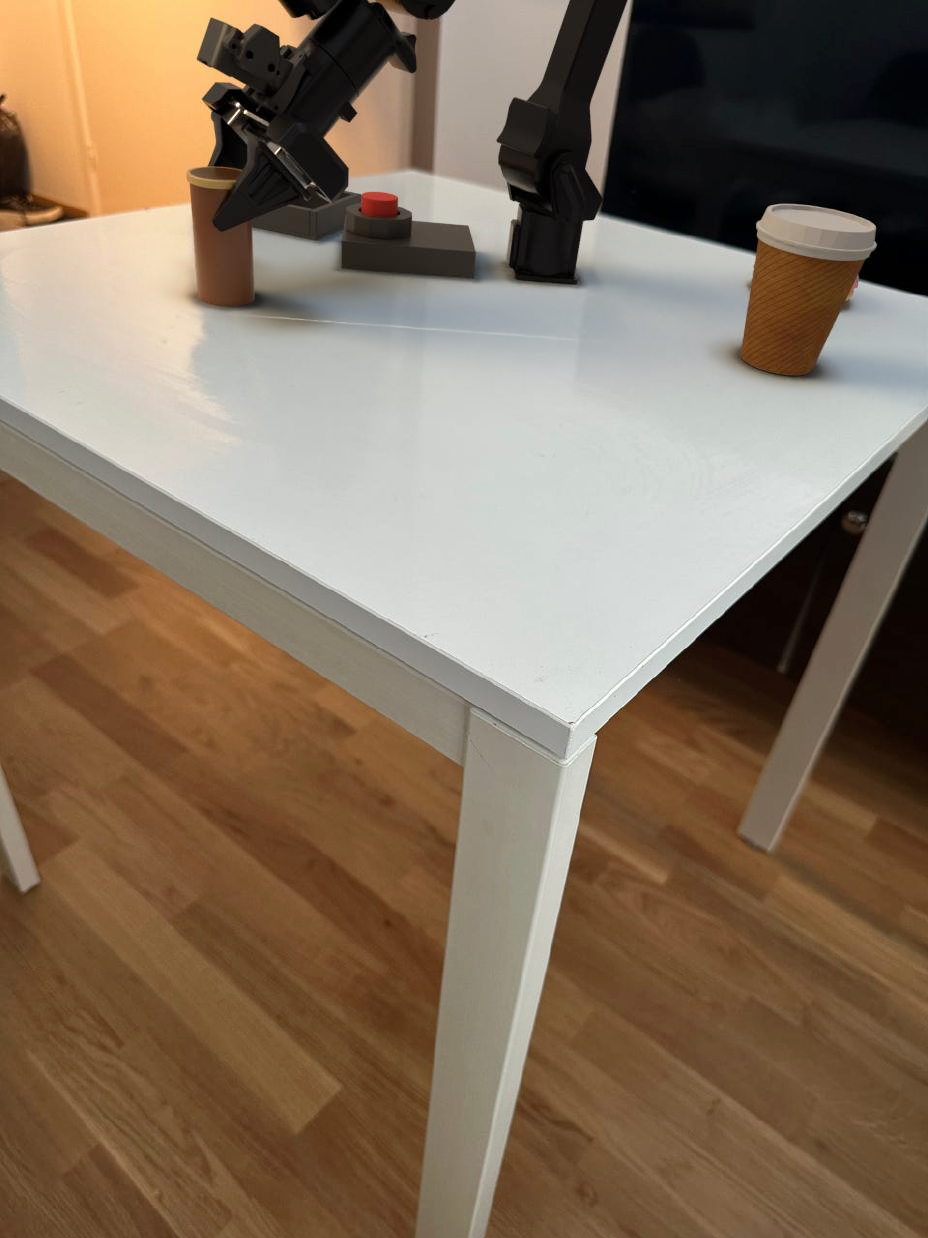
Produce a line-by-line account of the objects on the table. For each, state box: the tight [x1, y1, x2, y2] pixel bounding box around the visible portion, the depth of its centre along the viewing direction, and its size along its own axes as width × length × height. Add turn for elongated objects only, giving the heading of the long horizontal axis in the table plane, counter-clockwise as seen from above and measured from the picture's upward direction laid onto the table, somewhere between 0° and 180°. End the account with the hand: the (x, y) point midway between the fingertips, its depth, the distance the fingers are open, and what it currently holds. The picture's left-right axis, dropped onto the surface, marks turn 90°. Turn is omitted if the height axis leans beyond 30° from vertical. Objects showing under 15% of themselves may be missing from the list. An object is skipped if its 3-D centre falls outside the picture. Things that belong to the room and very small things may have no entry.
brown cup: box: [185, 166, 256, 307], centre depth 77 cm, size 5×5×10 cm
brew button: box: [361, 191, 399, 217], centre depth 92 cm, size 4×4×2 cm
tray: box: [252, 183, 363, 242], centre depth 101 cm, size 11×11×3 cm
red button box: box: [340, 202, 477, 280], centre depth 94 cm, size 13×10×4 cm
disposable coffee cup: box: [739, 203, 878, 376], centre depth 77 cm, size 10×10×12 cm
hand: (205, 218), depth 76 cm, fingers closed on brown cup, 5 cm apart
